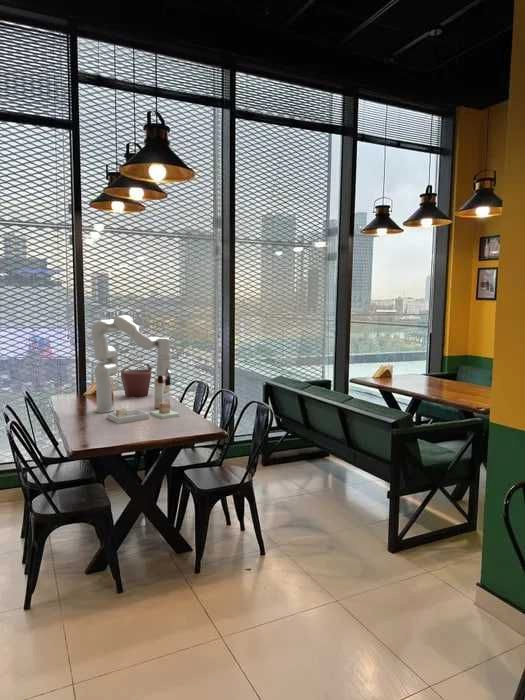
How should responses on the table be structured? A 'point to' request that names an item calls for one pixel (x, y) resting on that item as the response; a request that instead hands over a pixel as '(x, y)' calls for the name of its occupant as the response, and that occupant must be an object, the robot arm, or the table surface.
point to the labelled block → (164, 407)
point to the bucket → (136, 381)
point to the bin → (129, 416)
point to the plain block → (121, 413)
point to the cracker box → (161, 392)
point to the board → (165, 415)
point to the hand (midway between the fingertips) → (164, 384)
